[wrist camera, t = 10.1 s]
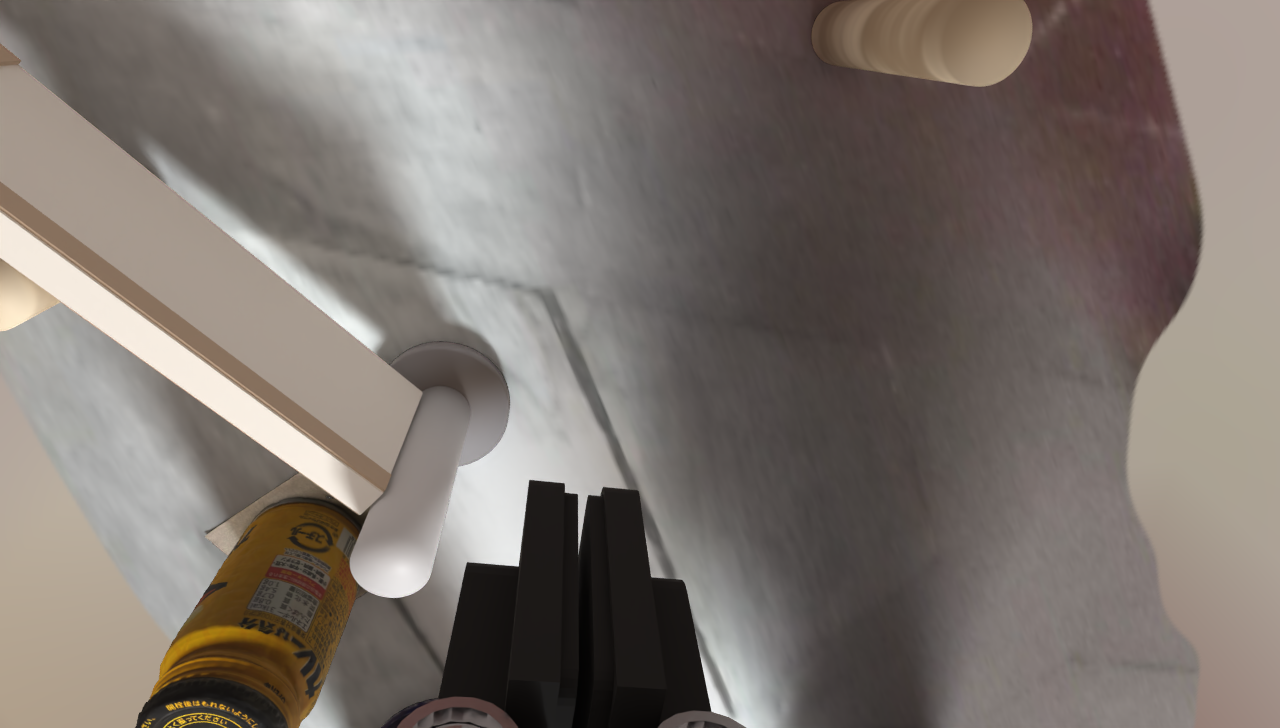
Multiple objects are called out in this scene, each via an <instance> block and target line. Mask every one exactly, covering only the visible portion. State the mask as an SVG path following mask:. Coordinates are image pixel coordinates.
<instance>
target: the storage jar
mask: <svg viewBox="0 0 1280 728" xmlns="http://www.w3.org/2000/svg"><path fill="white" fill-rule="evenodd" d="M434 700H438V698H437V699H431V700H427V701H423V702H420V703H416V704H414V705H412V706H409V707H407V708H405V709H403V710H401V711H400V712H398V713H397V714H395V715H394V716H392V717H391V718H390V719H389V720H388V721H387V722H385V724H384V725H383V726H382V727H381V728H397V727H398V725H399V724H400V723H401V721H402V720H403V719H405V718H406V717H407V716H408V715H409V714H411V713H412V712H413V711H414V710H416V709H417V708H419V707H421V706H423V705H426V704H428V703H430V702H432V701H434Z"/></svg>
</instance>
